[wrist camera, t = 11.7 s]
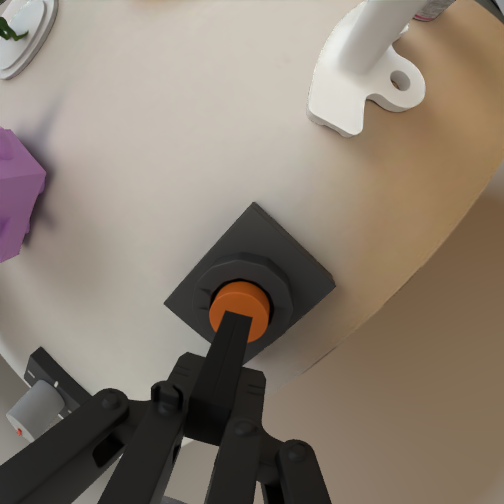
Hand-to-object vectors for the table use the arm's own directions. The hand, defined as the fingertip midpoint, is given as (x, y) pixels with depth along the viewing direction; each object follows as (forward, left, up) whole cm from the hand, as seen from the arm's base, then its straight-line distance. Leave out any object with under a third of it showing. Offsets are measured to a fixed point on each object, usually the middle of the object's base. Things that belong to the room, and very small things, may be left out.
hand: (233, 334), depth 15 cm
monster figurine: (+22, +33, -7) cm, 40 cm away
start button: (0, 0, -4) cm, 4 cm away
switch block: (0, 0, -7) cm, 7 cm away
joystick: (+18, -5, -7) cm, 20 cm away
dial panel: (-23, +22, -7) cm, 33 cm away
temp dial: (-23, +22, -5) cm, 32 cm away
